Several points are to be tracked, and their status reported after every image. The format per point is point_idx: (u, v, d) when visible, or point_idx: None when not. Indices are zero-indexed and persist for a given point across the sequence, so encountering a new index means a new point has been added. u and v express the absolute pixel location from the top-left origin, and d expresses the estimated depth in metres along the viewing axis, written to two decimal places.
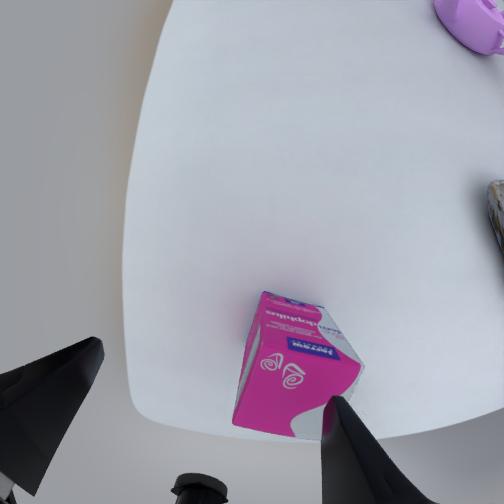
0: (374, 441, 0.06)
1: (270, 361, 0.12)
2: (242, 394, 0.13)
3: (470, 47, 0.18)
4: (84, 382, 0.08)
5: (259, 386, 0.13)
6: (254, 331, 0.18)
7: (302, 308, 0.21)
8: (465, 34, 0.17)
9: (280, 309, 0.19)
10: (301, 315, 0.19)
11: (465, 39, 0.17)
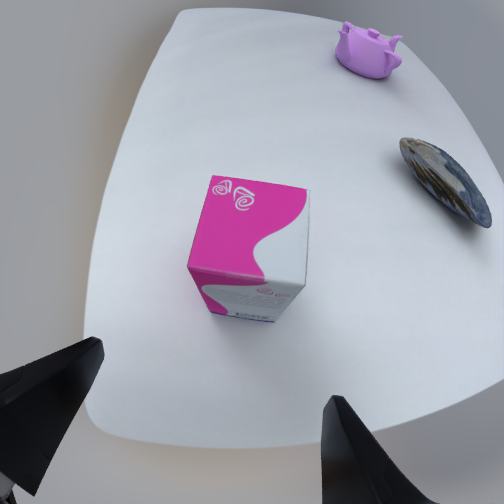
0: (374, 441, 0.06)
1: (220, 186, 0.14)
2: (197, 228, 0.14)
3: (368, 75, 0.38)
4: (84, 382, 0.08)
5: (213, 212, 0.14)
6: None
7: None
8: (360, 65, 0.36)
9: None
10: None
11: (362, 69, 0.37)
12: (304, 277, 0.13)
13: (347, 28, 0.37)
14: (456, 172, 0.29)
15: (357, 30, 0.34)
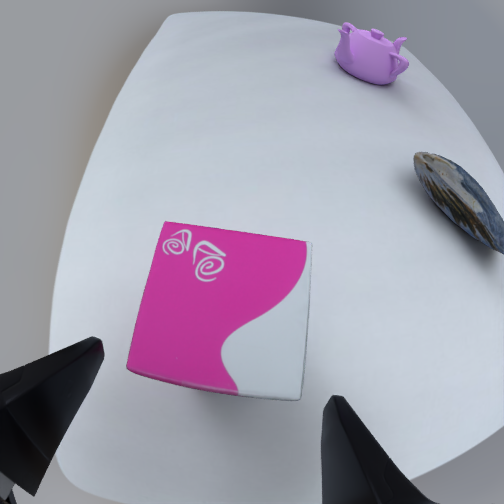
0: (374, 441, 0.06)
1: (175, 241, 0.09)
2: (140, 307, 0.09)
3: (372, 80, 0.34)
4: (84, 382, 0.08)
5: (162, 283, 0.09)
6: None
7: None
8: (363, 69, 0.33)
9: None
10: None
11: (365, 73, 0.33)
12: (299, 388, 0.08)
13: (347, 29, 0.34)
14: (473, 190, 0.25)
15: (359, 31, 0.31)
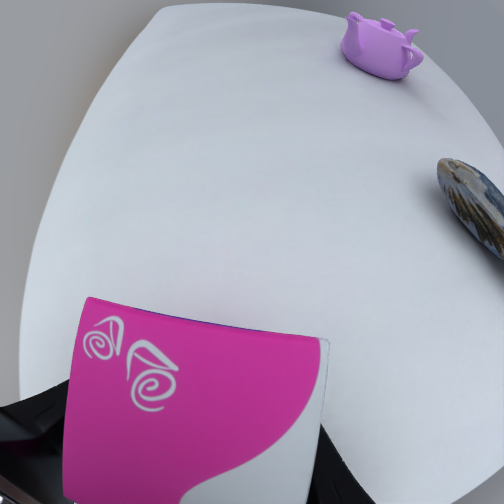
0: (328, 441, 0.06)
1: (99, 336, 0.05)
2: (66, 426, 0.04)
3: (382, 74, 0.30)
4: None
5: (86, 402, 0.04)
6: None
7: None
8: (373, 61, 0.28)
9: None
10: None
11: (375, 67, 0.29)
12: None
13: (354, 19, 0.29)
14: (496, 202, 0.20)
15: (367, 20, 0.26)
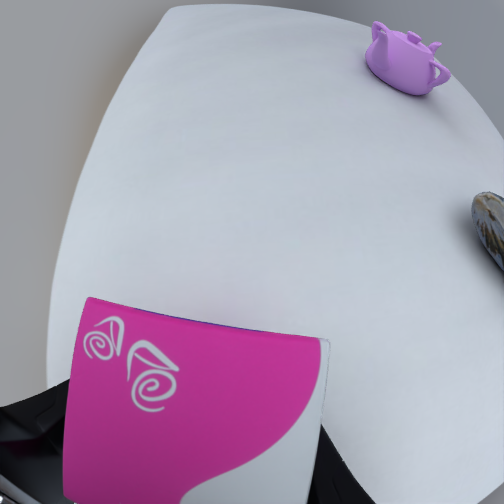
0: (328, 441, 0.06)
1: (100, 336, 0.05)
2: (66, 426, 0.04)
3: (408, 90, 0.29)
4: None
5: (86, 403, 0.04)
6: None
7: None
8: (400, 77, 0.27)
9: None
10: None
11: (402, 83, 0.28)
12: None
13: (378, 29, 0.28)
14: None
15: (394, 32, 0.25)
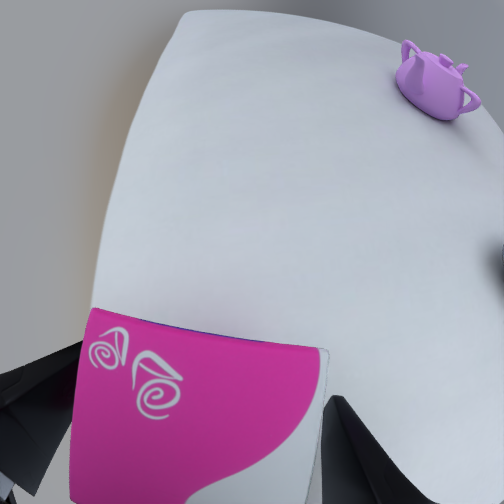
0: (374, 441, 0.06)
1: (105, 346, 0.05)
2: (72, 433, 0.04)
3: (439, 116, 0.28)
4: None
5: (92, 410, 0.05)
6: None
7: None
8: (433, 103, 0.26)
9: None
10: None
11: (434, 108, 0.27)
12: None
13: (408, 48, 0.27)
14: None
15: (426, 54, 0.24)
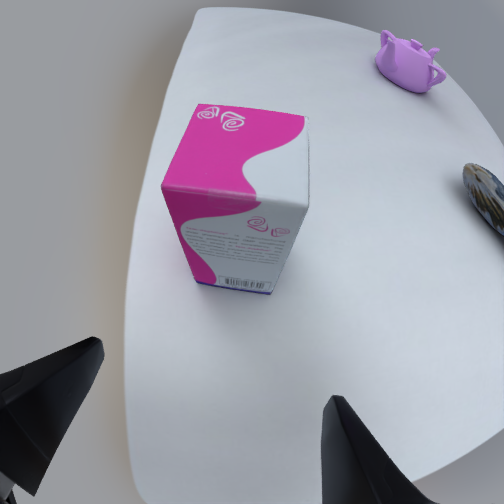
0: (374, 441, 0.06)
1: (207, 112, 0.12)
2: (177, 150, 0.11)
3: (411, 88, 0.34)
4: (84, 382, 0.08)
5: (196, 133, 0.11)
6: None
7: None
8: (405, 77, 0.33)
9: None
10: None
11: (406, 82, 0.33)
12: (307, 197, 0.10)
13: (386, 37, 0.34)
14: None
15: (399, 40, 0.31)
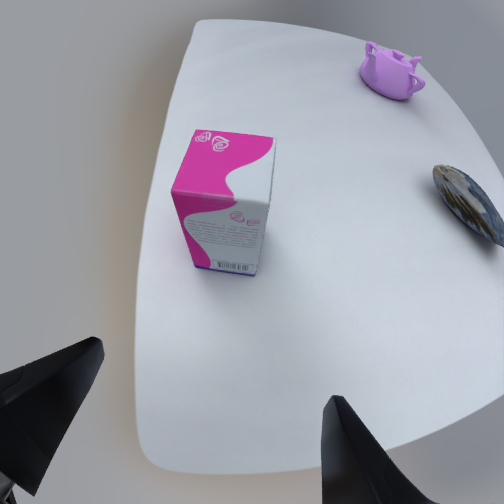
0: (374, 441, 0.06)
1: (202, 136, 0.17)
2: (181, 165, 0.16)
3: (392, 96, 0.39)
4: (84, 382, 0.08)
5: (194, 153, 0.16)
6: None
7: None
8: (386, 86, 0.38)
9: None
10: None
11: (387, 91, 0.38)
12: (268, 197, 0.15)
13: (370, 47, 0.39)
14: (478, 195, 0.30)
15: (382, 51, 0.36)
